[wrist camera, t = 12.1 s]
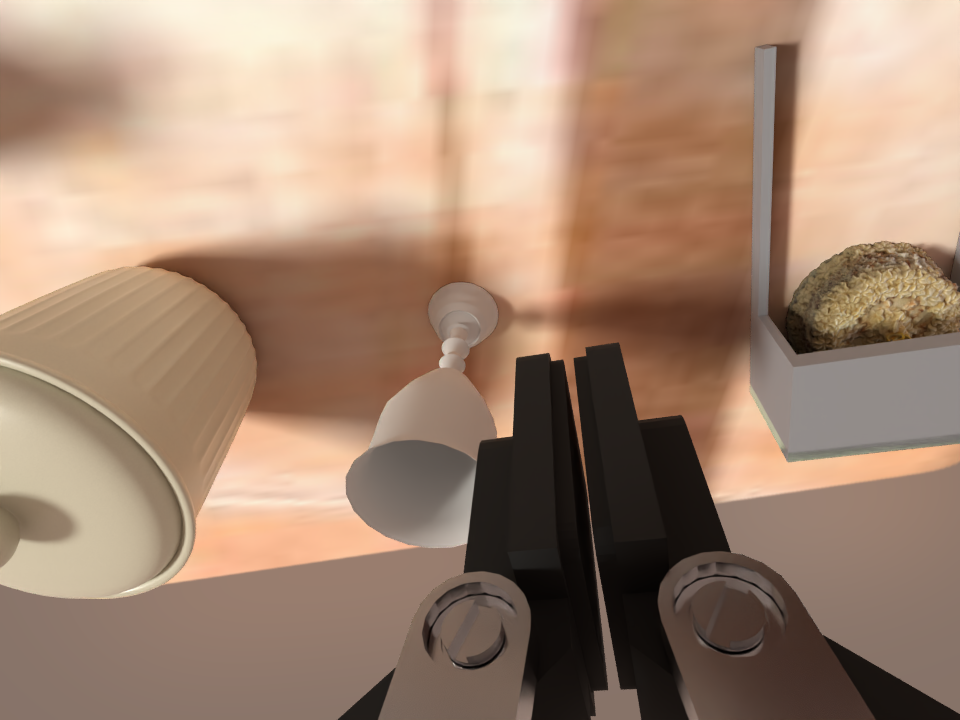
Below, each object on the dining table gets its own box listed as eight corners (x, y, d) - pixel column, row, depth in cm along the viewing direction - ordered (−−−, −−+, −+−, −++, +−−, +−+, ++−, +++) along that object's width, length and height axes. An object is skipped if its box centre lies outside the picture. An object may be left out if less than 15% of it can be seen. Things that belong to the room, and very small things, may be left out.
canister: (325, 422, 48) (205, 672, 31) (128, 436, 51) (-88, 675, 33) (247, 208, 39) (9, 391, 21) (11, 239, 42) (-378, 426, 24)
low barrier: (755, 47, 32) (811, 61, 25) (1023, -16, 30) (1161, -17, 23) (749, 392, 44) (787, 462, 37) (941, 366, 41) (1017, 437, 35)
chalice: (526, 288, 41) (523, 466, 25) (497, 365, 44) (479, 562, 29) (424, 256, 40) (358, 420, 25) (403, 338, 43) (334, 525, 28)
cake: (763, 277, 40) (791, 307, 35) (925, 206, 37) (981, 229, 32) (806, 390, 43) (837, 432, 38) (957, 335, 40) (1012, 372, 35)
